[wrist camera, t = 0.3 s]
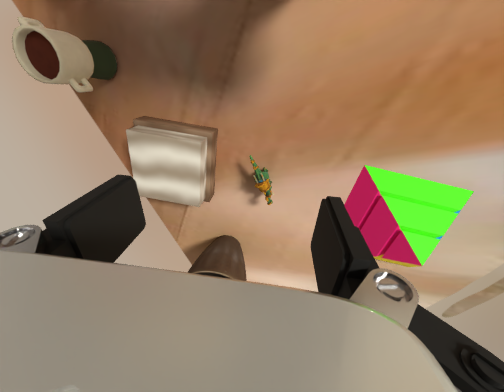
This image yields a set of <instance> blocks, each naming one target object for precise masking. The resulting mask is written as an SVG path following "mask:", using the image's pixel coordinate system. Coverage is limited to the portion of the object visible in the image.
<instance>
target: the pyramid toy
mask: <svg viewBox="0 0 504 392" xmlns="http://www.w3.org/2000/svg"><path fill="white" fill-rule="evenodd" d="M473 192H474V191H470V190H466V189H462V188H457V187H453V186H449V185H445V184H441V183H437V182H433V181H428V180H424V179H420V178H416V177H412V176H408V175H404V174H399V173H395V172H391V171H387V170H383V169H379V168H375V167H370V166H366V165H364V167H363V169H362V171H361V173H360V175H359V177H358V179H357V181H356V183H355V185H354V187H353V189H352V191H351V193H350V195H349V197H348V198H347V200H346V202H345V204H344V206H345V208H346V210H347V212H348V214H349V216H350V218H351V220H352V222H353V224H354V226H356V227H358V228H359V230H360V232H361V234H362V235H363V237H364V239H365V241H366V243H367V245H368V247H369V249H370V251H371V253H372V255H373V257H374V259H378V260H382V261H386V262H391V263H395V264H399V265H403V266H407V267H416V266H423V264H424V263H425V261H426V260H427V258H428V257H429V255H430V254H431V253H432V251H433V250H434V248H435V247H436V245H437V244H438V242H439V241H440V239H441V238H442V236H443V235H444V234H445V232H446V231H447V229H448V228H449V227H450V225H451V224H452V222H453V221H454V219H455V218H456V216H457V215H458V213H459V212H460V211H461V209H462V208H463V206H464V205H465V204H466V202H467V201H468V199H469V198H470V196H471V195H472V193H473Z"/></svg>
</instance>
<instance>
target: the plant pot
mask: <svg viewBox="0 0 504 392" xmlns="http://www.w3.org/2000/svg"><path fill="white" fill-rule="evenodd" d="M188 273H193V274H200V275H207V276H215V277H222V278H229V279H236V280H243V281H246V270H245V263H244V257H243V253H242V249H241V246H240V243H239V242H238V240H237V239H235V238H234V237H231V236H226V235H225V236H220V237H219V238H217V239H216V240H215V241H214V242H213V243H211V244H210V245H209V246H208V247H207V248H206V249H205V251H204V252H203V253H202V254H201V255H200V256H199V257H198V259H197V260H196V261H195V263H194V264H193V265H192V267H191V268H190V270H189V271H188Z"/></svg>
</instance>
